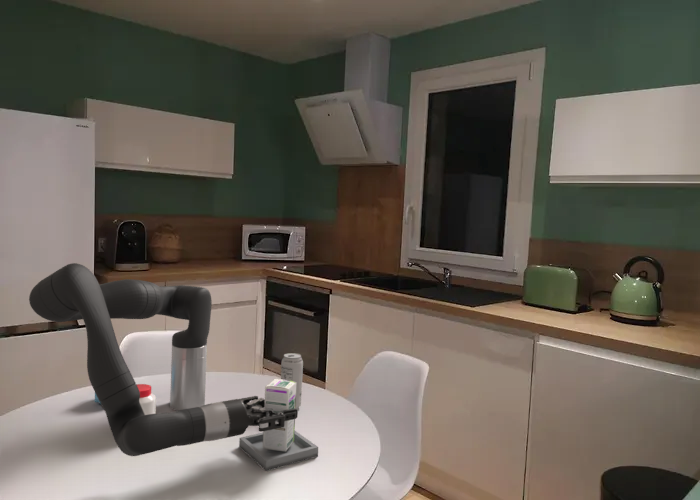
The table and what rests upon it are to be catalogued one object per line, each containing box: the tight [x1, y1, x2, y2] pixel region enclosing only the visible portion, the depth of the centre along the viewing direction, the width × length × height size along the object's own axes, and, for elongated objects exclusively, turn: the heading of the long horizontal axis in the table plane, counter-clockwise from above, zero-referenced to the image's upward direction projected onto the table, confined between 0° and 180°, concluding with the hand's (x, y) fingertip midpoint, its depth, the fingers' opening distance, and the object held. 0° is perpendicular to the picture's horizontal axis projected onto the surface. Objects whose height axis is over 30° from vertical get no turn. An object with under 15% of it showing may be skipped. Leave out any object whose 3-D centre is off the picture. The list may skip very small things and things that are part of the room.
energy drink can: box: [280, 352, 304, 410], centre depth 147 cm, size 6×6×15 cm
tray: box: [238, 429, 319, 472], centre depth 120 cm, size 13×13×2 cm
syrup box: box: [263, 378, 296, 452], centre depth 119 cm, size 6×6×14 cm
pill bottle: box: [136, 383, 157, 415], centre depth 126 cm, size 8×8×11 cm
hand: (287, 407), depth 120 cm, fingers closed on syrup box, 7 cm apart
